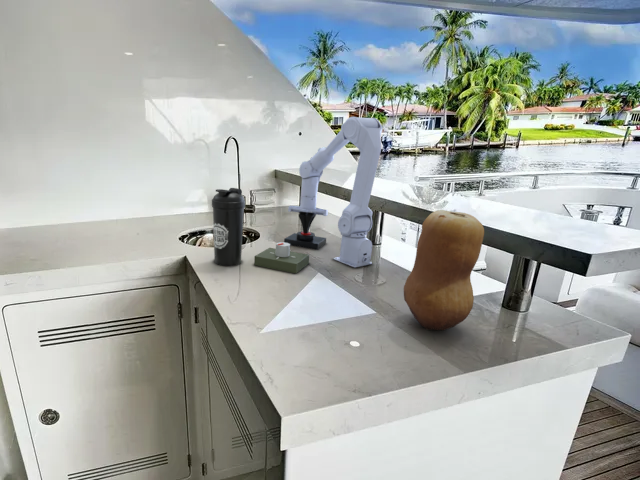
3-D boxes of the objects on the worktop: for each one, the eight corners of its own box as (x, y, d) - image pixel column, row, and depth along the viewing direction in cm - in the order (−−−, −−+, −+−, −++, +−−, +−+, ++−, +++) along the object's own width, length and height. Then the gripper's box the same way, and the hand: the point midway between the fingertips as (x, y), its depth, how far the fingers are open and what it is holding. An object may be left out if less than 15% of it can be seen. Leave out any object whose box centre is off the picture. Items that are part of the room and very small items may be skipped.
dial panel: (308, 263, 121) (309, 254, 120) (296, 273, 112) (296, 263, 111) (269, 256, 128) (269, 247, 127) (254, 265, 119) (254, 255, 118)
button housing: (325, 243, 144) (326, 233, 143) (317, 249, 136) (318, 239, 134) (293, 238, 150) (294, 228, 149) (283, 244, 142) (284, 233, 140)
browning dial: (282, 252, 122) (282, 240, 121) (292, 255, 119) (293, 243, 117) (272, 254, 119) (273, 242, 118) (282, 258, 116) (283, 245, 115)
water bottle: (205, 261, 121) (204, 188, 113) (227, 254, 128) (228, 185, 120) (227, 269, 114) (228, 192, 107) (250, 261, 122) (252, 189, 114)
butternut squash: (480, 337, 79) (512, 219, 70) (424, 343, 76) (450, 220, 68) (435, 308, 91) (457, 205, 83) (385, 312, 89) (402, 206, 80)
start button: (311, 236, 143) (312, 232, 142) (308, 238, 140) (308, 234, 139) (302, 235, 144) (303, 230, 144) (299, 237, 141) (299, 232, 141)
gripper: (286, 195, 137) (283, 232, 141) (325, 199, 130) (321, 237, 135) (293, 193, 143) (290, 228, 147) (331, 196, 136) (327, 233, 141)
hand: (305, 232), depth 141 cm, fingers closed, pressing on start button
